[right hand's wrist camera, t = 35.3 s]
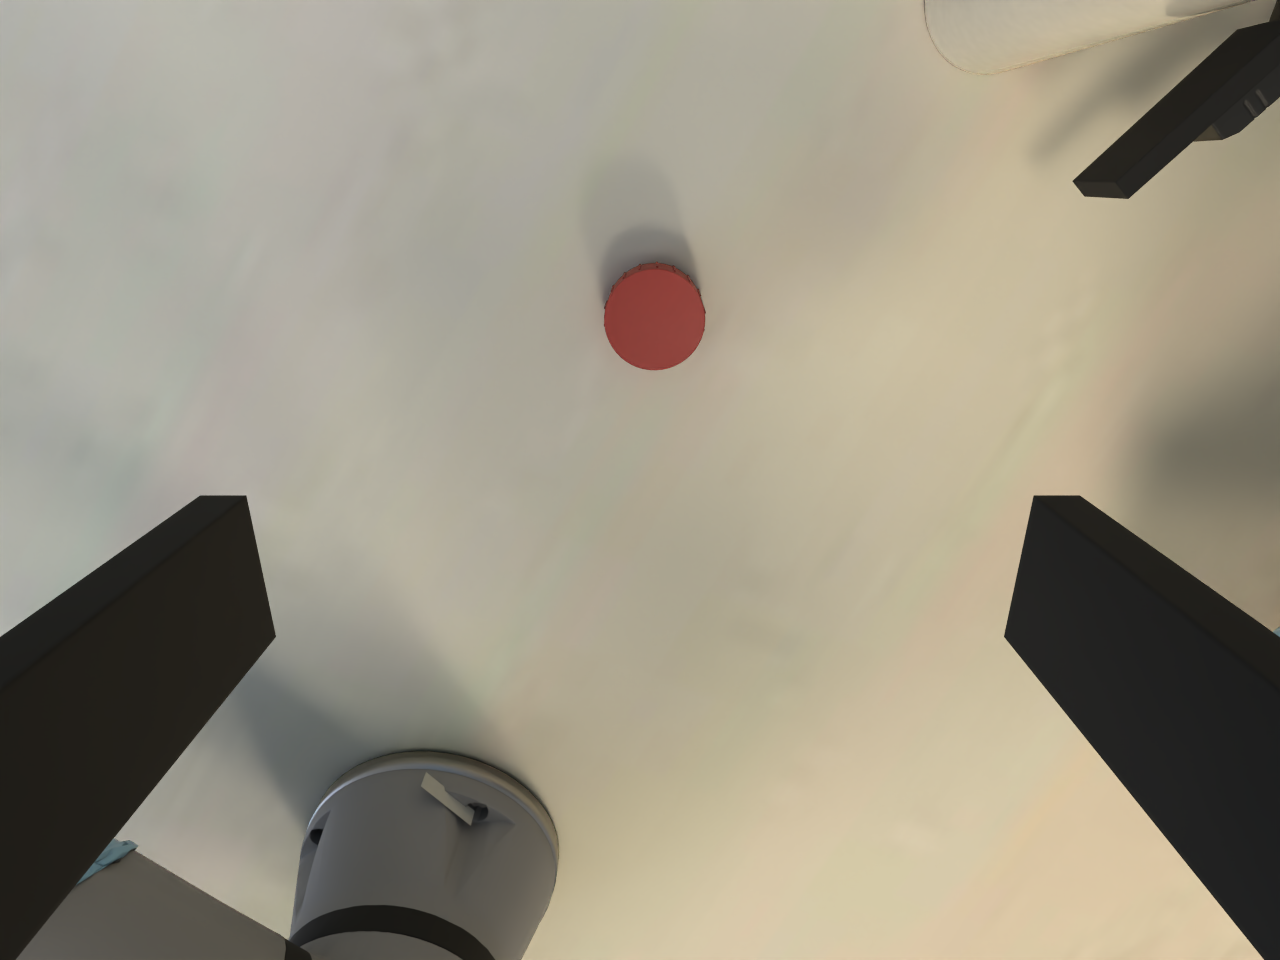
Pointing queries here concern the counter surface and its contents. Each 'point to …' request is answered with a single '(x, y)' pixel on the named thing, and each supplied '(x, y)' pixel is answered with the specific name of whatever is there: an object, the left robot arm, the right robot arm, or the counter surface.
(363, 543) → the counter surface
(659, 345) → the cap
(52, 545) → the counter surface
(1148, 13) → the bottle
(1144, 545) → the right robot arm
